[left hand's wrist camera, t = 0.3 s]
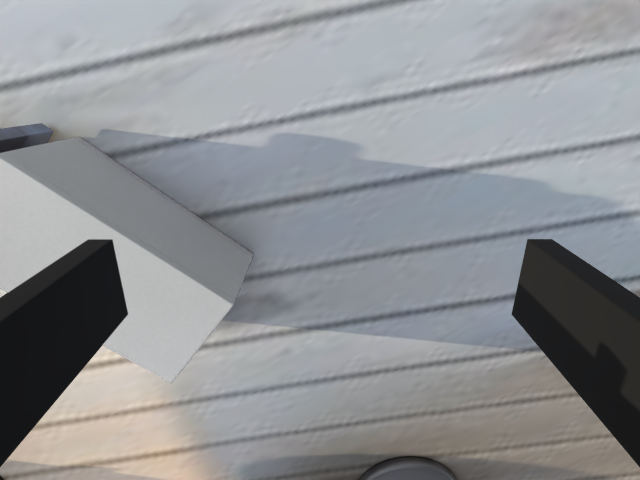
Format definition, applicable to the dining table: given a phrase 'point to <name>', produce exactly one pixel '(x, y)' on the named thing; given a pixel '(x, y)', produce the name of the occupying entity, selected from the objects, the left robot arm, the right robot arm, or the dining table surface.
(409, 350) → the dining table surface
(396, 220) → the dining table surface
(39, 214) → the grey rectangular block
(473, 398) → the dining table surface
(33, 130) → the drawer
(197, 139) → the dining table surface
